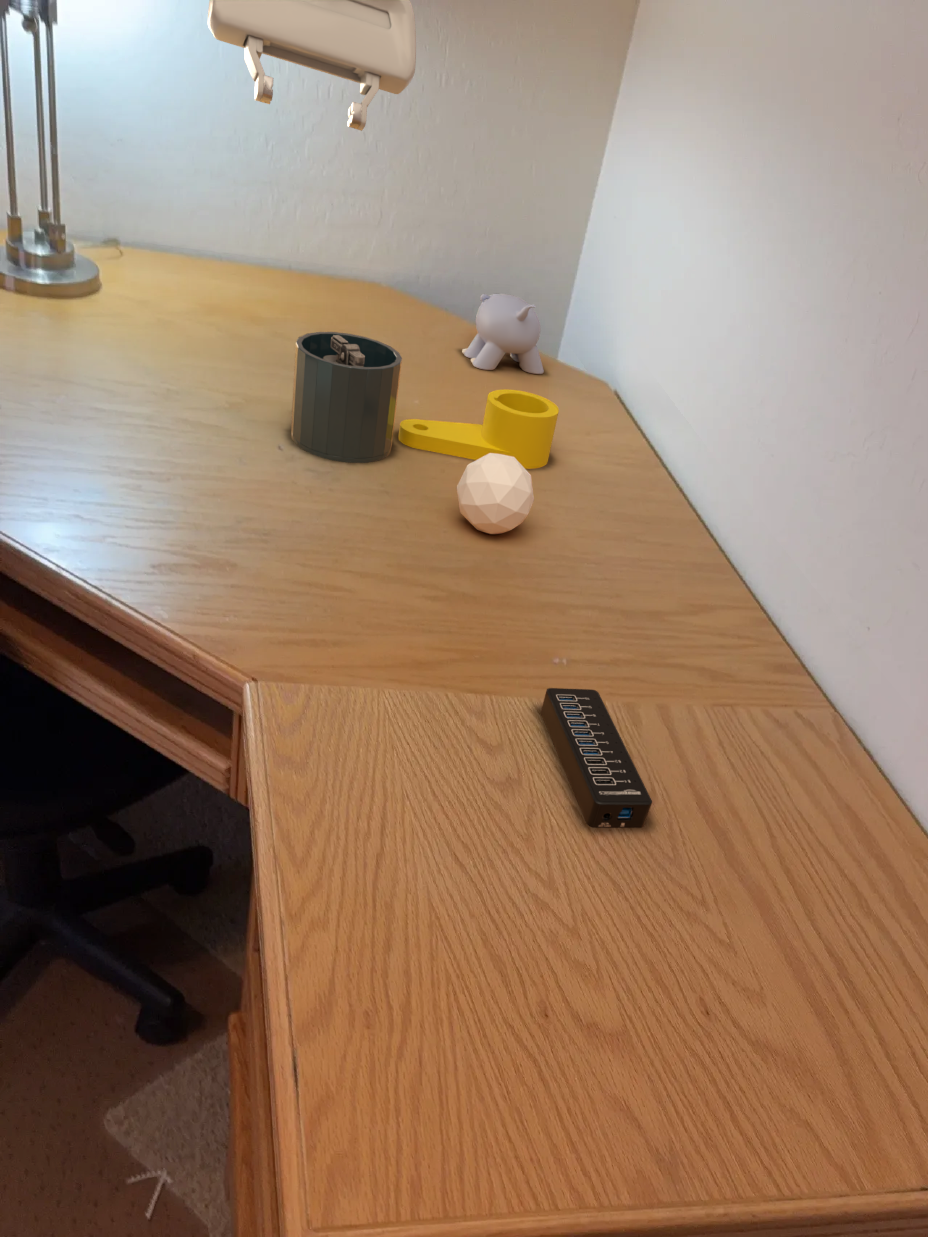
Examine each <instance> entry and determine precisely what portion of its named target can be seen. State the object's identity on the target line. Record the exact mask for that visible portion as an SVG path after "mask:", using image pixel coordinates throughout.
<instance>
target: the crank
mask: <svg viewBox="0 0 928 1237" xmlns="http://www.w3.org/2000/svg"><path fill="white" fill-rule="evenodd" d="M559 412H560V409H559V406H557V404H556V403H554V401H551V400H550V399H548V398H546V397H544V396H542V395H538V394H536V393H532V392H529V391H524V390H519V389H518V390H517V389H507V388H506V389H503V388H502V389H496V390H495V389H494V390H493V391H490V392H489V393H488V394H487V398H486V403H485V409H484V415H483V421H482V424H480V423H466V422H456V421H444V420H429V419H418V418H408V419H407V418H406V419H403V420H401V421H400V423H399V430H398V437H397V438H398V441H399V442H400V443H401V444H403V445H404V446H406V447H410V448H413V449H416V450H422V451H427V452H434V453H437V454H443V455H447V456H453V457H459V458H462V459H463V458H464V459H468V460H473V461H476V460H477V459H479V458H481V457H483V456H485V455H487V454H489V453H496V454H503V455H507V456H512V457H515V458H516V460H517V461H518V462H519V463H520V464H521V465H522V466H523V467H524V468H525V469H526V470H531V469H532V470H534V469H540V468H542V467H544V466H546V465H547V464H548V462H549V458H550V453H551V449H552V444H553V440H554V439H553V438H554V435H555V430H556V425H557V421H558V416H559Z"/></svg>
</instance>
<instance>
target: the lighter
mask: <svg viewBox="0 0 928 1237" xmlns="http://www.w3.org/2000/svg"><path fill="white" fill-rule="evenodd" d="M331 348H332V349H333V350H335V351H336V352H337V353H338V354H337V355H327V356H324V357H323V359H325V360H328V361H331V362H334V363H339V364H344V365H349V366H358V367H363V366H364V360H365V356H364V355H363V354H362V353H360V348H359V346H358V345H357V344H348V341H346V340H345V339H344V338H342V337H341V336H339V335H333V337H331Z"/></svg>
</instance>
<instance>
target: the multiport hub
mask: <svg viewBox="0 0 928 1237" xmlns="http://www.w3.org/2000/svg"><path fill="white" fill-rule="evenodd" d="M540 716H541V717H542V719H543V722H544V725H545V727H546V729H547V732H548V734H549V737H550V739H551V742H552V744H553V747H554V749H555V751H556V754H557V756H558V759H559V761H560V764H561V766H562V768H563V770H564V773H565V776H566V778H567V781H568V783H569V785H570V787H571V789H572V793H573V794H574V797H575V799H576V802H577V804H578V806H579V809H580V811H581V814H582V816H583V818H584V821H585V823H586V825H587V826H588V827H589V828H594V829H618V828H619V829H641V828H643V827H645V823H646V821H647V818H648V815H649V812H650V810H651V807H652V804H653V800H652V798H651V796H650V794H649V792H648V790H647V788H646V786H645V783H644V782H643V779H642V778H641V775H640V773H639V772H638V770H637V767H636V765H635V764H634V761H633V759H632V758H631V755H630V753H629V751H628V749H627V747H626V746H625V743H624V742H623V739H622V737H621V735H620V733H619V731H618V729H617V727H616V725H615V723H614V721H613V719H612V716H611V715H610V713H609V711H608V709H607V706H606V705H605V703H604V700H603V698H602V697H601V695H600V693H599V691H598V690H595V689H592V688H591V689H590V688H587V689H586V688H561V687H560V688H557V687H549V688H546V691H545V694H544V697H543V703H542V706H541V710H540Z"/></svg>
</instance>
